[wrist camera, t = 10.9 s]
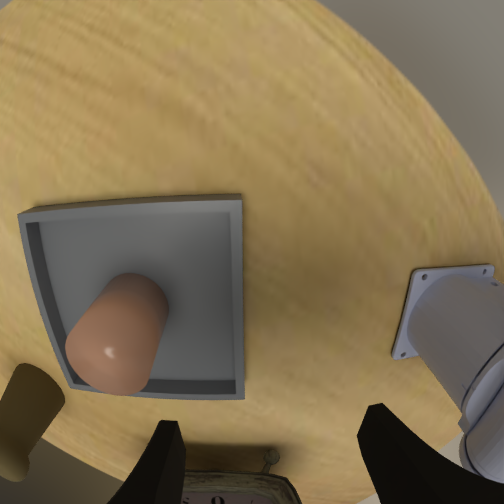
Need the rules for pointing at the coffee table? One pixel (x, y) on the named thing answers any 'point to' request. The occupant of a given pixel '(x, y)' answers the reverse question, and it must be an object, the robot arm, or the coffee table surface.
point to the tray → (158, 270)
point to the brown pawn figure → (25, 417)
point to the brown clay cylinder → (119, 335)
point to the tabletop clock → (239, 486)
